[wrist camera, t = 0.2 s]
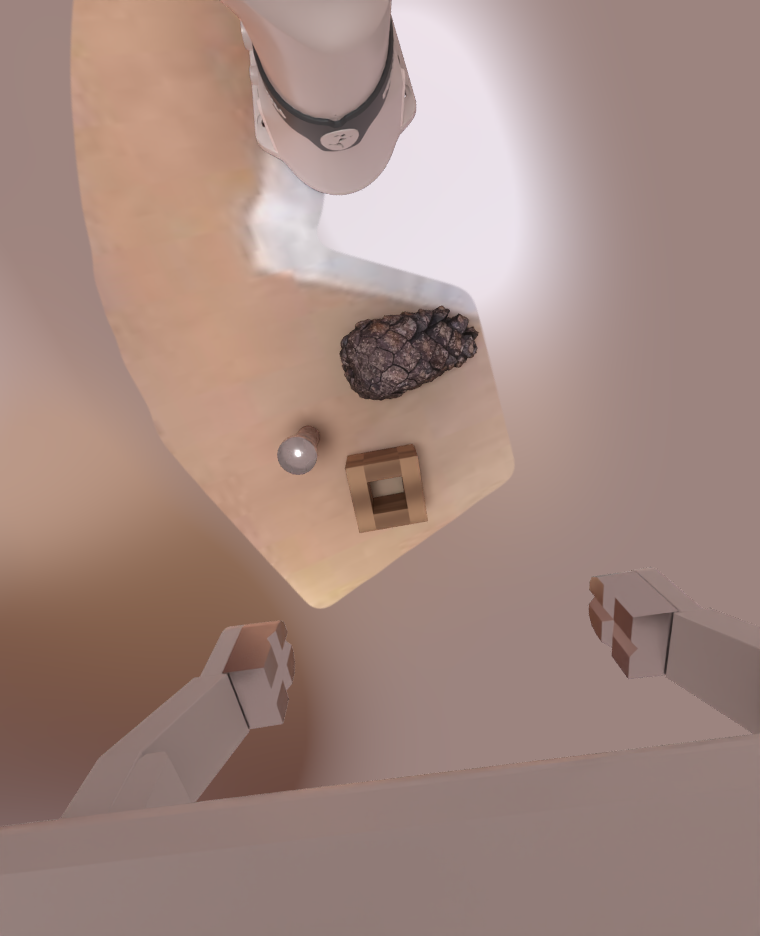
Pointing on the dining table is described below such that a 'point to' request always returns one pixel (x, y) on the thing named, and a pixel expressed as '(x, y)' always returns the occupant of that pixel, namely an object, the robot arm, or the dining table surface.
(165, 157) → the dining table surface
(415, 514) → the socket block
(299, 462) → the pin
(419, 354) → the pine cone
